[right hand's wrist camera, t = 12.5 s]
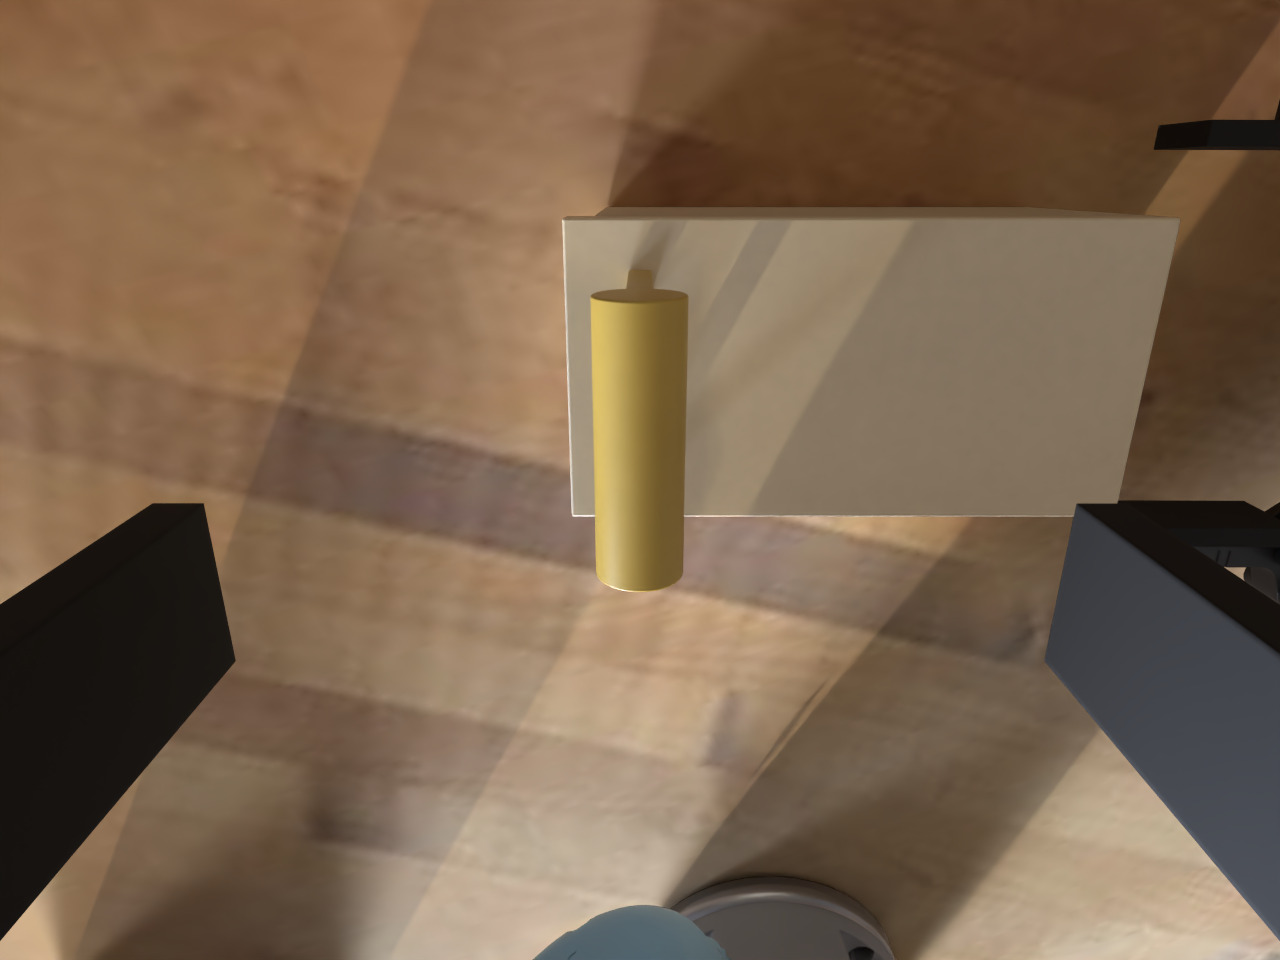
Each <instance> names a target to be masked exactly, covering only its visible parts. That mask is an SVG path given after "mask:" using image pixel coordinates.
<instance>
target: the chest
mask: <svg viewBox="0 0 1280 960" xmlns="http://www.w3.org/2000/svg"><path fill="white" fill-rule="evenodd" d="M596 216H1151V215H1136V214H1122V213H1107V212H1093V211H1078V210H1064V209H1049V208H1034V207H607V208H605V209H603V210H602V211H601V212H600V213H598V214H597V215H596Z"/></svg>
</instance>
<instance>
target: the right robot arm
mask: <svg viewBox="0 0 1280 960" xmlns="http://www.w3.org/2000/svg"><path fill="white" fill-rule="evenodd" d="M235 661H236V660H235V655H234V650H233V645H232V640H231V635H230V631H229V626H228V621H227V616H226V611H225V606H224V601H223V596H222V591H221V586H220V582H219V577H218V572H217V567H216V562H215V557H214V552H213V547H212V542H211V537H210V533H209V528H208V523H207V518H206V513H205V508H204V503H153V504H151V505H150V506H148V507H147V508H145V509H143V510H142V511H140V512H139V513H137V514H136V515H134V516H133V517H131V518H130V519H128V520H127V521H125V522H124V523H122V524H121V525H119V526H118V527H116V528H115V529H113V530H112V531H110V532H109V533H107V534H106V535H104V536H103V537H101V538H100V539H98V540H97V541H95V542H94V543H92V544H91V545H89V546H88V547H86V548H85V549H83V550H82V551H80V552H79V553H77V554H76V555H74V556H73V557H71V558H70V559H68V560H67V561H65V562H64V563H62V564H61V565H59V566H58V567H56V568H55V569H53V570H52V571H50V572H48V573H47V574H45V575H44V576H42V577H41V578H39V579H38V580H36V581H35V582H33V583H32V584H30V585H29V586H27V587H26V588H24V589H23V590H21V591H20V592H18V593H17V594H15V595H14V596H12V597H11V598H9V599H8V600H6V601H5V602H3V603H2V604H0V941H1V939H2V938H3V937H4V936H5V935H6V933H7V932H8V931H9V930H10V929H11V927H12V926H13V925H14V924H15V923H16V921H17V920H18V919H19V918H20V917H21V916H22V914H23V913H24V912H25V911H26V910H27V908H28V907H29V906H30V905H31V904H32V902H33V901H34V900H35V899H36V898H37V897H38V895H39V894H40V893H41V892H42V891H43V889H44V888H45V887H46V886H47V885H48V883H49V882H50V881H51V880H52V879H53V877H54V876H55V875H56V874H57V873H58V872H59V870H60V869H61V868H62V867H63V866H64V864H65V863H66V862H67V861H68V860H69V858H70V857H71V856H72V855H73V854H74V853H75V851H76V850H77V849H78V848H79V847H80V845H81V844H82V843H83V842H84V841H85V839H86V838H87V837H88V836H89V835H90V834H91V832H92V831H93V830H94V829H95V828H96V826H97V825H98V824H99V823H100V822H101V820H102V819H103V818H104V817H105V816H106V814H107V813H108V812H109V811H110V810H111V809H112V807H113V806H114V805H115V804H116V803H117V801H118V800H119V799H120V798H121V797H122V795H123V794H124V793H125V792H126V791H127V790H128V788H129V787H130V786H131V785H132V784H133V782H134V781H135V780H136V779H137V778H138V776H139V775H140V774H141V773H142V772H143V771H144V769H145V768H146V767H147V766H148V765H149V763H150V762H151V761H152V760H153V759H154V757H155V756H156V755H157V754H158V753H159V751H160V750H161V749H162V748H163V747H164V746H165V744H166V743H167V742H168V741H169V740H170V738H171V737H172V736H173V735H174V734H175V732H176V731H177V730H178V729H179V728H180V727H181V725H182V724H183V723H184V722H185V721H186V719H187V718H188V717H189V716H190V715H191V713H192V712H193V711H194V710H195V709H196V707H197V706H198V705H199V704H200V703H201V702H202V700H203V699H204V698H205V697H206V696H207V694H208V693H209V692H210V691H211V690H212V688H213V687H214V686H215V685H216V684H217V683H218V681H219V680H220V679H221V678H222V677H223V675H224V674H225V673H226V672H227V671H228V669H229V668H230V667H231V666H232V665H233V664H234V662H235ZM1044 661H1045V662H1046V664H1047V665H1048V666H1049V667H1050V668H1051V669H1052V671H1053V672H1054V673H1055V674H1056V675H1057V677H1058V678H1059V679H1060V680H1061V681H1062V683H1063V684H1064V685H1065V686H1066V687H1067V688H1068V690H1069V691H1070V692H1071V693H1072V694H1073V696H1074V697H1075V698H1076V699H1077V700H1078V702H1079V703H1080V704H1081V705H1082V706H1083V707H1084V709H1085V710H1086V711H1087V712H1088V713H1089V715H1090V716H1091V717H1092V718H1093V719H1094V721H1095V722H1096V723H1097V724H1098V725H1099V727H1100V728H1101V729H1102V730H1103V731H1104V732H1105V734H1106V735H1107V736H1108V737H1109V738H1110V740H1111V741H1112V742H1113V743H1114V744H1115V746H1116V747H1117V748H1118V749H1119V750H1120V751H1121V753H1122V754H1123V755H1124V756H1125V757H1126V759H1127V760H1128V761H1129V762H1130V763H1131V765H1132V766H1133V767H1134V768H1135V769H1136V771H1137V772H1138V773H1139V774H1140V775H1141V776H1142V778H1143V779H1144V780H1145V781H1146V782H1147V784H1148V785H1149V786H1150V787H1151V788H1152V790H1153V791H1154V792H1155V793H1156V794H1157V795H1158V797H1159V798H1160V799H1161V800H1162V801H1163V803H1164V804H1165V805H1166V806H1167V807H1168V809H1169V810H1170V811H1171V812H1172V813H1173V814H1174V816H1175V817H1176V818H1177V819H1178V820H1179V822H1180V823H1181V824H1182V825H1183V826H1184V828H1185V829H1186V830H1187V831H1188V832H1189V834H1190V835H1191V836H1192V837H1193V838H1194V839H1195V841H1196V842H1197V843H1198V844H1199V845H1200V847H1201V848H1202V849H1203V850H1204V851H1205V853H1206V854H1207V855H1208V856H1209V857H1210V858H1211V860H1212V861H1213V862H1214V863H1215V864H1216V866H1217V867H1218V868H1219V869H1220V870H1221V872H1222V873H1223V874H1224V875H1225V876H1226V877H1227V879H1228V880H1229V881H1230V882H1231V883H1232V885H1233V886H1234V887H1235V888H1236V889H1237V891H1238V892H1239V893H1240V894H1241V895H1242V897H1243V898H1244V899H1245V900H1246V901H1247V902H1248V904H1249V905H1250V906H1251V907H1252V908H1253V910H1254V911H1255V912H1256V913H1257V914H1258V916H1259V917H1260V918H1261V919H1262V920H1263V921H1264V923H1265V924H1266V925H1267V926H1268V927H1269V929H1270V930H1271V931H1272V932H1273V933H1274V935H1275V936H1276V937H1277V938H1278V939H1279V941H1280V604H1278V603H1277V602H1275V601H1274V600H1272V599H1271V598H1269V597H1268V596H1266V595H1265V594H1263V593H1262V592H1260V591H1259V590H1257V589H1256V588H1254V587H1253V586H1251V585H1250V584H1248V583H1247V582H1245V581H1244V580H1242V579H1241V578H1239V577H1238V576H1236V575H1235V574H1233V573H1232V572H1230V571H1228V570H1227V569H1225V568H1224V567H1222V566H1221V565H1219V564H1218V563H1216V562H1215V561H1213V560H1212V559H1210V558H1209V557H1207V556H1206V555H1204V554H1203V553H1201V552H1200V551H1198V550H1197V549H1195V548H1194V547H1192V546H1191V545H1189V544H1188V543H1186V542H1185V541H1183V540H1182V539H1180V538H1179V537H1177V536H1176V535H1174V534H1173V533H1171V532H1170V531H1168V530H1167V529H1165V528H1164V527H1162V526H1161V525H1159V524H1158V523H1156V522H1155V521H1153V520H1152V519H1150V518H1149V517H1147V516H1146V515H1144V514H1143V513H1141V512H1140V511H1138V510H1137V509H1135V508H1133V507H1132V506H1130V505H1129V504H1127V503H1076V508H1075V513H1074V518H1073V523H1072V528H1071V533H1070V537H1069V542H1068V547H1067V552H1066V557H1065V562H1064V567H1063V572H1062V577H1061V582H1060V586H1059V591H1058V596H1057V601H1056V606H1055V611H1054V616H1053V621H1052V626H1051V630H1050V635H1049V640H1048V645H1047V650H1046V655H1045V660H1044Z"/></svg>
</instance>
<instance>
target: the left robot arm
mask: <svg viewBox="0 0 1280 960" xmlns="http://www.w3.org/2000/svg"><path fill="white" fill-rule="evenodd" d="M1154 150H1280V101H1279V105H1278V109H1277V113H1276V116H1275V120H1206V121H1197V122H1187V123H1178V124H1168V125H1159V127H1158V131H1157V136H1156V141H1155V146H1154ZM1118 503H1127V504H1129V505H1130V506H1132V507H1133V508H1135V509H1137V510H1138V511H1140V512H1141V513H1143V514H1144V515H1146V516H1147V517H1149V518H1150V519H1152V520H1153V521H1155V522H1156V523H1158V524H1159V525H1161V526H1162V527H1164V528H1165V529H1167V530H1168V531H1170V532H1171V533H1173V534H1174V535H1176V536H1177V537H1179V538H1180V539H1182V540H1183V541H1185V542H1186V543H1188V544H1189V545H1191V546H1192V547H1194V548H1195V549H1197V550H1198V551H1200V552H1201V553H1203V554H1204V555H1206V556H1207V557H1209V558H1210V559H1212V560H1213V561H1215V562H1216V563H1218V564H1219V565H1221V566H1222V567H1247V568H1246V569H1245V572H1244V580H1245V582H1247V583H1248V584H1250V585H1251V586H1253V587H1254V588H1256V589H1257V590H1259V591H1260V592H1262V593H1263V594H1265V595H1266V596H1268V597H1269V598H1271V599H1272V600H1274V601H1275V602H1277V603H1278V604H1280V502H1279V503H1278V504H1276V505H1274V506H1273V507H1271V508H1270V509H1268V510H1267V511H1265V512H1264V511H1262V510H1260V509H1258V508H1256V507H1254V506H1253V505H1251V504H1249V503H1247V502H1245V501H1118ZM533 960H895V958H894V955H893V952H892V949H891V946H890V943H889V940H888V938H887V936H886V934H885V932H884V930H883V928H882V927H881V925H880V924H879V922H878V921H877V920H876V919H875V918H874V917H873V915H872V914H871V913H870V912H869V911H867V910H866V909H865V908H864V907H863V906H862V905H860V904H859V903H858V902H856V901H855V900H853V899H852V898H850V897H848V896H847V895H845V894H843V893H841V892H839V891H837V890H835V889H833V888H830V887H827V886H824V885H822V884H818V883H815V882H811V881H806V880H801V879H796V878H787V877H754V878H745V879H739V880H734V881H729V882H725V883H722V884H718V885H715V886H712V887H709V888H707V889H704V890H702V891H700V892H697V893H695V894H693V895H691V896H689V897H688V898H686V899H684V900H682V901H681V902H679V903H678V904H676V905H675V906H673V907H672V908H671V909H667V908H664V907H659V906H651V905H637V906H628V907H623V908H618V909H615V910H612V911H608V912H606V913H603V914H600V915H598V916H596V917H594V918H592V919H590V920H589V921H588V922H587V923H586V924H584V925H583V926H581V927H580V928H578V929H577V930H574V931H570V932H566V933H565V934H564V935H562V936H561V937H559V938H558V939H557V940H555V941H554V942H553V943H552V944H550V945H549V946H548V947H547V948H545V949H544V950H543V951H542V952H541V953H540V954H539V955H538V956H536V957H535V958H534V959H533Z"/></svg>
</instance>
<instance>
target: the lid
mask: <svg viewBox="0 0 1280 960" xmlns="http://www.w3.org/2000/svg"><path fill="white" fill-rule="evenodd" d="M1180 221H1181V220H1180V218H1178V217H1164V216H567V217H565V218H563V220H562V224H563V255H564V286H565V317H566V349H567V380H568V411H569V442H570V473H571V504H572V515H573V516H595V535H596V573H597V576H598V578H599V579H600V580H601V581H602V582H603V583H604V584H606V585H608V586H610V587H612V588H615V589H619V590H623V591H630V592H649V591H656V590H661V589H664V588H667V587H669V586H672V585H673V584H675V583H676V582H678V581H679V580H680V578H681V577H682V574H683V549H684V516H906V517H1074V513H1075V508H1076V503H1118V499H1119V494H1120V490H1121V485H1122V481H1123V476H1124V472H1125V467H1126V463H1127V458H1128V454H1129V449H1130V445H1131V440H1132V436H1133V431H1134V427H1135V422H1136V418H1137V413H1138V409H1139V405H1140V400H1141V396H1142V391H1143V387H1144V382H1145V378H1146V373H1147V369H1148V364H1149V360H1150V355H1151V351H1152V346H1153V342H1154V337H1155V333H1156V328H1157V324H1158V319H1159V315H1160V310H1161V306H1162V302H1163V297H1164V293H1165V288H1166V284H1167V279H1168V275H1169V270H1170V266H1171V261H1172V257H1173V252H1174V248H1175V243H1176V239H1177V234H1178V230H1179V225H1180Z"/></svg>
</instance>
